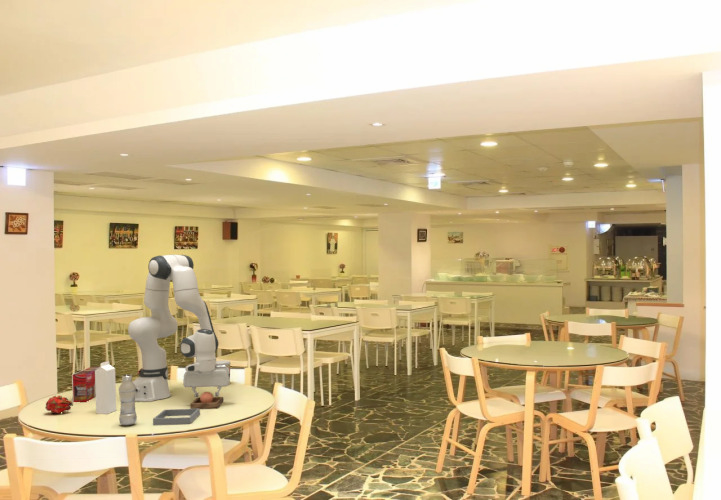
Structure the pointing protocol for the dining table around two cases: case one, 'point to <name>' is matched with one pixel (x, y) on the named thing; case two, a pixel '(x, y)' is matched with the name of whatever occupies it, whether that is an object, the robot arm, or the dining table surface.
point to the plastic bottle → (127, 401)
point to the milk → (105, 389)
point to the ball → (206, 397)
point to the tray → (199, 405)
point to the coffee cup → (224, 364)
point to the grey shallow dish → (176, 412)
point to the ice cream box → (84, 385)
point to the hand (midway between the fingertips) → (207, 396)
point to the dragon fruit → (58, 404)
